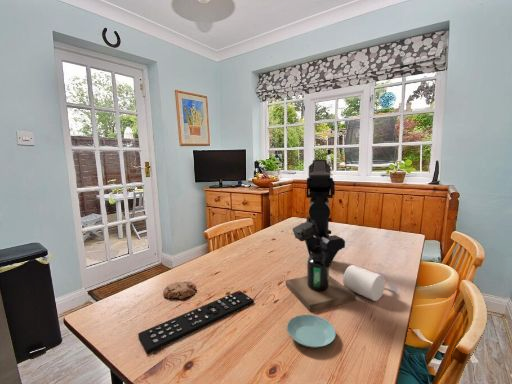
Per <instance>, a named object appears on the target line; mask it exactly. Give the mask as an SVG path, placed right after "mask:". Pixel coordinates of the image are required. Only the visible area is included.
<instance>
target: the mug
mask: <svg viewBox="0 0 512 384" xmlns="http://www.w3.org/2000/svg"><path fill="white" fill-rule="evenodd" d="M342 277H343V278H342V283H343V284H342V285H343V286H345V287H346V288H347V289H349V290H350V291H352V292H353V293H356V294H358V295H361V297H364V298H367V299H368V300H369V299H370V300H371V301H373V302H377V301H379V300H380V299H381V297H382V296H383V294H384V291H385V287H386V280H385V277H384V276H383V275H382V274H379V273H377V272H374V271H371V270H368V269H365V268H362V267H360V266H356V265H355V264H354V265H353V264H352V265H351V264H350V265H349V266H348V267H347V268H346V269H345V271H344V274H343V276H342Z"/></svg>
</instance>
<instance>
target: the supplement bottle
mask: <svg viewBox="0 0 512 384" xmlns="http://www.w3.org/2000/svg"><path fill="white" fill-rule="evenodd" d="M310 257H311V258H309V257H308V258H309V259H308V258H307V259H308V260H307V261H306V262H307V263H306V267H307V269H306V270H307V273H306V274H307V275H306V276H307V285H308V287H309V288H310V289H312V290H315V291H324V290H326V289H327V288H328V286H329V275H330V266H329V267H325V262H324V251H323V250H322V249H313V250H311V254H310Z"/></svg>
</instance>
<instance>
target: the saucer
mask: <svg viewBox="0 0 512 384" xmlns="http://www.w3.org/2000/svg"><path fill="white" fill-rule="evenodd" d="M286 330H287V331H286V332H287V333H288V334H289V336H290V337H291V339H292V340H294V341H295V342H296V343H298V344H299V345H302V346H304V347H307V348H315V349H316V348H322V347H325V346H328V345H329V344H332V342H333V341H334V340H335V338H336V335H337V334H336V330H335V328H334V326H333V324H332V323H330V322H329V321H328V320H327V319H325V318H323V317H321V316H319V315H313V314H300V315H299V314H298V315H296V316H294V317H292V318H291V319H290V320H289V321H288V322H287V325H286Z"/></svg>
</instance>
